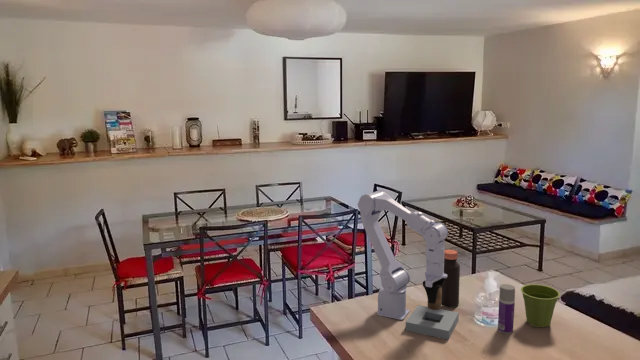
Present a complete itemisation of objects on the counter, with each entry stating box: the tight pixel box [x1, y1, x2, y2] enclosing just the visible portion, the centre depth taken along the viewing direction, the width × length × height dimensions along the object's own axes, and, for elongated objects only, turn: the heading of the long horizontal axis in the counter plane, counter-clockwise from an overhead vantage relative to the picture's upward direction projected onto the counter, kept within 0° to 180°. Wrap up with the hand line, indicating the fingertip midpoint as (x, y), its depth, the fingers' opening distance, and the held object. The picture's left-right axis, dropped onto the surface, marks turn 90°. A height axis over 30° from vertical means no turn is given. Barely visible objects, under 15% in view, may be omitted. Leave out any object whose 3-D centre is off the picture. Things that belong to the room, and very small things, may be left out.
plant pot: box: [520, 283, 561, 328], centre depth 159 cm, size 12×12×11 cm
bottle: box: [441, 249, 461, 308], centre depth 174 cm, size 7×7×20 cm
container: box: [497, 283, 516, 335], centre depth 155 cm, size 5×5×15 cm
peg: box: [427, 286, 442, 310], centre depth 158 cm, size 4×4×7 cm
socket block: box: [405, 304, 460, 341], centre depth 160 cm, size 14×14×3 cm
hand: (434, 299), depth 158 cm, fingers closed on peg, 4 cm apart
